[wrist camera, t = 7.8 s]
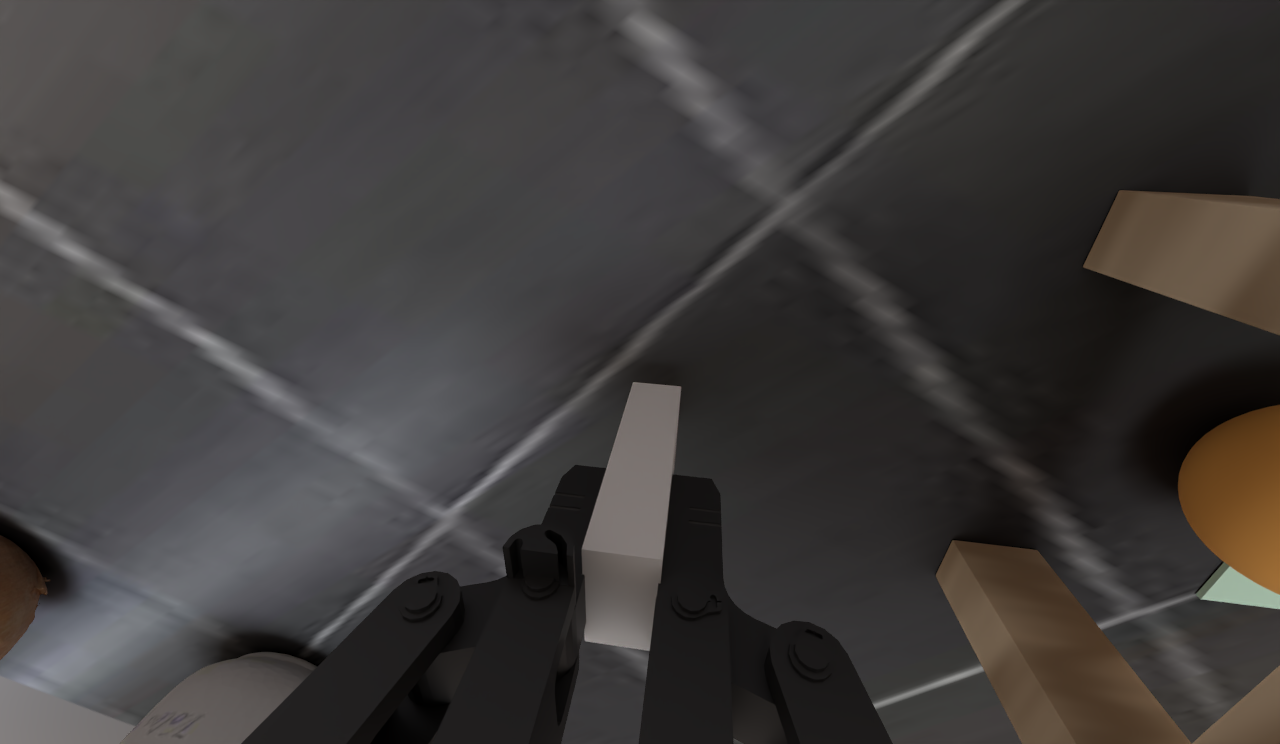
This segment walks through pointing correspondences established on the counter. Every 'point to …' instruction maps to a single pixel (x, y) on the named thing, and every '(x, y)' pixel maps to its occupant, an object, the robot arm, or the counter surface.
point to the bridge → (1022, 579)
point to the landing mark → (1237, 589)
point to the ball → (1238, 494)
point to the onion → (17, 593)
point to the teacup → (222, 701)
